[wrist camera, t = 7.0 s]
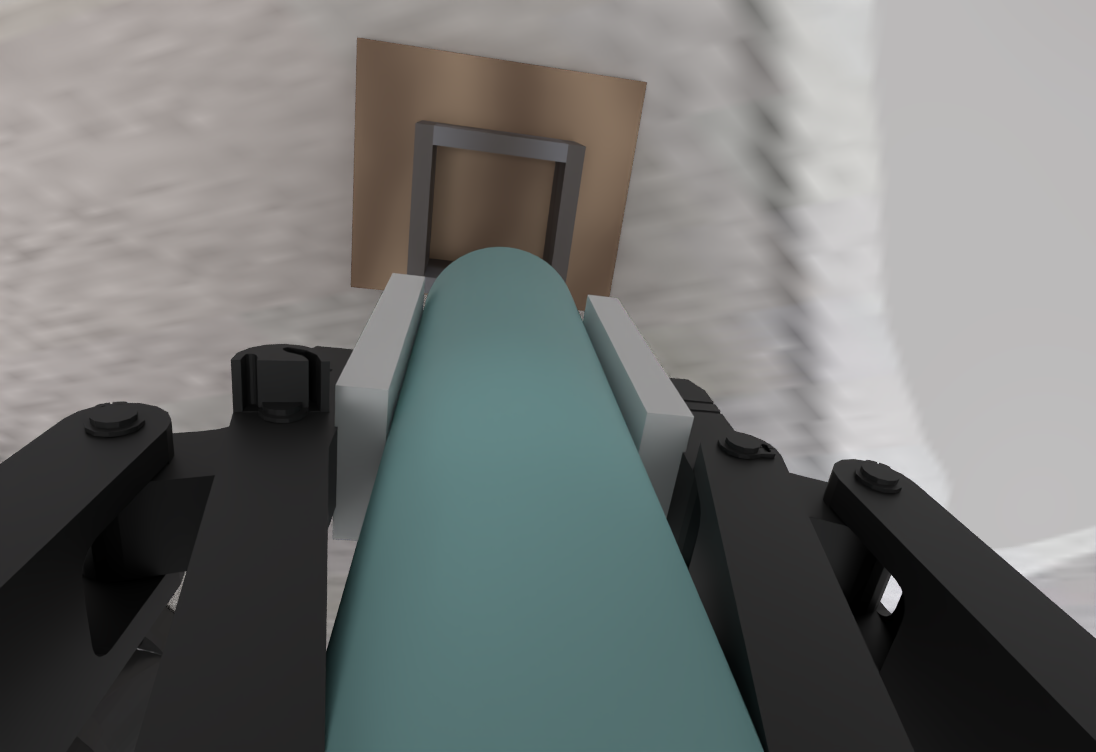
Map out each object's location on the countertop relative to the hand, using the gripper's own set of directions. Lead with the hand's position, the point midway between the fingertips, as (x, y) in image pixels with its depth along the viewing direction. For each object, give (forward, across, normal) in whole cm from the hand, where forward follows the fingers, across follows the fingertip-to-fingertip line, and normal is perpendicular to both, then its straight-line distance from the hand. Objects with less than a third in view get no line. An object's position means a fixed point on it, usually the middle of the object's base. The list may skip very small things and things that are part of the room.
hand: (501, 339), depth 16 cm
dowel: (+1, 0, 0) cm, 1 cm away
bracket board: (+21, 0, +1) cm, 21 cm away
